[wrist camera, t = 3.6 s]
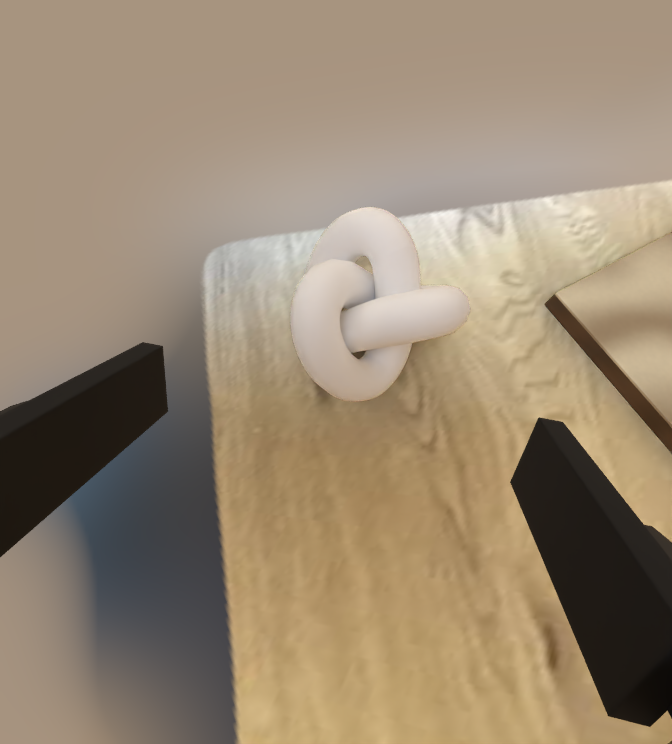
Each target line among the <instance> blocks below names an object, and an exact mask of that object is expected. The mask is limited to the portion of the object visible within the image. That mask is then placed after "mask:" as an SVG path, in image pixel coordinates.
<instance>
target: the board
mask: <svg viewBox="0 0 672 744" xmlns="http://www.w3.org/2000/svg"><path fill="white" fill-rule="evenodd" d="M545 306H546V307H547V308H548V309H549V310H550V311H551V313H552V314H553V315H554V316H555V317H556V318H557V320H558V321H559V322H560V323H561V324H562V325H563V327H564V328H565V329H566V330H567V331H568V332H569V334H570V335H571V336H572V337H573V338H574V339H575V341H576V342H577V343H578V344H579V345H580V346H581V348H582V349H583V350H584V351H585V352H586V353H587V355H588V356H589V357H590V358H591V359H592V360H593V362H594V363H595V364H596V365H597V366H598V367H599V369H600V370H601V371H602V372H603V373H604V374H605V376H606V377H607V378H608V379H609V380H610V381H611V383H612V384H613V385H614V386H615V387H616V388H617V390H618V391H619V392H620V393H621V394H622V395H623V397H624V398H625V399H626V400H627V401H628V402H629V404H630V405H631V406H632V407H633V408H634V409H635V411H636V412H637V413H638V414H639V415H640V416H641V418H642V419H643V420H644V421H645V422H646V423H647V425H648V426H649V427H650V428H651V429H652V430H653V432H654V433H655V434H656V435H657V436H658V437H659V439H660V440H661V441H662V442H663V443H664V444H665V446H666V447H667V448H668V449H669V450H670V451H671V453H672V232H671V233H668V234H667V235H665V236H663V237H661V238H659V239H657V240H655V241H653V242H651V243H649V244H648V245H646V246H644V247H642V248H640V249H638V250H636V251H634V252H632V253H631V254H629V255H627V256H625V257H623V258H621V259H619V260H617V261H615V262H613V263H612V264H610V265H608V266H606V267H604V268H602V269H600V270H598V271H596V272H594V273H593V274H591V275H589V276H587V277H585V278H583V279H581V280H579V281H577V282H576V283H574V284H572V285H570V286H568V287H566V288H564V289H562V290H560V291H558V292H557V293H555V294H554V295H553V296H552V297H551V298H550V299H549V300H548V301H547V302H546V303H545Z"/></svg>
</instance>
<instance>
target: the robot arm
mask: <svg viewBox="0 0 672 744" xmlns="http://www.w3.org/2000/svg"><path fill="white" fill-rule="evenodd" d="M167 412H168V407H167V394H166V381H165V369H164V356H163V346H160V345H154V344H149V343H144V342H143V343H141V344H139V345H137V346H135V347H133V348H131V349H129V350H127V351H125V352H123V353H121V354H119V355H117V356H115V357H113V358H111V359H110V360H107V361H106V362H103V363H102V364H100V365H98V366H96V367H94V368H92V369H90V370H88V371H86V372H84V373H82V374H80V375H78V376H76V377H74V378H72V379H70V380H68V381H67V382H64V383H63V384H61V385H59V386H57V387H55V388H53V389H51V390H49V391H47V392H45V393H43V394H41V395H39V396H37V397H35V398H33V399H31V400H29V401H26V402H22V403H19V404H16V405H13V406H10V407H8V408H6V409H4V410H2V411H0V557H1V556H2V555H3V554H5V553H6V552H7V551H8V550H9V549H10V548H11V547H13V546H14V545H15V544H16V543H17V542H18V541H19V540H21V539H22V538H23V537H24V536H25V535H26V534H28V533H29V532H30V531H31V530H32V529H33V528H34V527H36V526H37V525H38V524H39V523H40V522H41V521H42V520H44V519H45V518H46V517H47V516H48V515H49V514H51V513H52V512H53V511H54V510H55V509H56V508H57V507H58V506H60V505H61V504H62V503H63V502H64V501H65V500H66V499H68V498H69V497H70V496H71V495H72V494H73V493H75V492H76V491H77V490H78V489H79V488H80V487H81V486H83V485H84V484H85V483H86V482H87V481H88V480H90V479H91V478H92V477H93V476H94V475H95V474H96V473H98V472H99V471H100V470H101V469H102V468H103V467H105V466H106V465H107V464H108V463H109V462H110V461H111V460H113V459H114V458H115V457H116V456H117V455H118V454H119V453H121V452H122V451H123V450H124V449H125V448H126V447H127V446H129V445H130V444H131V443H132V442H133V441H134V440H136V439H137V438H138V437H139V436H140V435H141V434H143V433H144V432H145V431H146V430H147V429H148V428H149V427H151V426H152V425H153V424H154V423H155V422H156V421H157V420H159V419H160V418H161V417H162V416H163V415H164V414H166V413H167ZM510 483H511V485H512V487H513V490H514V492H515V494H516V497H517V499H518V502H519V504H520V506H521V509H522V511H523V514H524V516H525V518H526V521H527V523H528V526H529V528H530V530H531V533H532V535H533V537H534V540H535V542H536V545H537V547H538V549H539V552H540V554H541V557H542V559H543V561H544V564H545V566H546V569H547V571H548V573H549V576H550V578H551V580H552V583H553V585H554V588H555V590H556V592H557V595H558V597H559V600H560V602H561V604H562V607H563V609H564V612H565V614H566V616H567V619H568V621H569V624H570V626H571V628H572V631H573V633H574V635H575V638H576V640H577V643H578V645H579V647H580V650H581V652H582V655H583V657H584V659H585V662H586V664H587V667H588V669H589V671H590V674H591V676H592V678H593V681H594V683H595V686H596V688H597V690H598V693H599V695H600V698H601V700H602V702H603V705H604V707H605V710H606V712H607V714H608V716H610V717H614V718H618V719H622V720H626V721H629V722H633V723H637V724H641V725H645V726H649V727H650V726H651V725H652V724H654V723H655V722H656V721H657V720H658V719H659V718H660V717H661V716H662V715H663V714H664V713H665V712H666V711H667V710H668V712H669V714H670V716H671V718H672V542H670V541H669V540H668V539H667V538H666V537H664V536H663V535H662V534H661V533H660V532H658V531H657V530H656V529H655V528H654V527H652V526H647V525H644V524H643V523H642V522H641V521H640V519H639V518H638V517H637V515H636V514H635V513H634V512H633V510H632V509H631V508H630V507H629V505H628V504H627V503H626V502H625V500H624V499H623V498H622V496H621V495H620V494H619V493H618V491H617V490H616V489H615V488H614V486H613V485H612V484H611V482H610V481H609V480H608V479H607V477H606V476H605V475H604V474H603V472H602V471H601V470H600V469H599V467H598V466H597V465H596V463H595V462H594V461H593V460H592V458H591V457H590V456H589V455H588V453H587V452H586V451H585V449H584V448H583V447H582V446H581V444H580V443H579V442H578V441H577V439H576V438H575V437H574V436H573V434H572V433H571V432H570V430H569V429H568V428H567V427H566V425H565V424H564V423H563V422H560V421H555V420H549V419H544V418H538V420H537V423H536V425H535V427H534V429H533V432H532V434H531V436H530V438H529V441H528V443H527V445H526V448H525V450H524V452H523V454H522V457H521V459H520V461H519V463H518V466H517V468H516V470H515V472H514V475H513V477H512V479H511V482H510ZM668 744H672V741H671V742H669V743H668Z"/></svg>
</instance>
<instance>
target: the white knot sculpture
mask: <svg viewBox="0 0 672 744" xmlns="http://www.w3.org/2000/svg"><path fill="white" fill-rule="evenodd" d="M362 256H367V258H368V259H369V261H370V263H371V265H372V270H373V274H371V273H370V272H368V271H367V270H365V269H364V268H362V267H361V266H359V265H357V264H355V262H356V261H357V260H358V259H359V258H360V257H362ZM420 284H421V274H420V263H419V257H418V253H417V250H416V247H415V244H414V241H413V239H412V237H411V235H410V233H409V232H408V230H407V229H406V227H405V226H404V225H403V223H402V222H401V221H400V220H399V219H398V218H397V217H396V216H394V215H392V214H391V213H389V212H388V211H386V210H383V209H379V208H375V207H366V208H359V209H356V210H353V211H350V212H348V213H346V214H343V215H342V216H340V217H339V218H337V219H336V220H335V221H333V222H332V223H331V225H330V226H329V227H328V228H327V229H326V230H325V231H324V232H323V234H322V235H321V237H320V239H319V240H318V242H317V243H316V245H315V247H314V250H313V252H312V254H311V256H310V258H309V261H308V264H307V267H306V271H305V274H304V277H303V278H302V279H301V280H300V281H299V283H298V285H297V286H296V288H295V291H294V294H293V298H292V303H291V310H290V327H291V333H292V339H293V344H294V346H295V349H296V352H297V355H298V358H299V360H300V362H301V363H302V365H303V367H304V369H305V371H306V372H307V373H308V374H309V376H310V377H311V378H312V379H313V381H314V382H315V383H316V384H318V385H319V386H320V387H322V388H323V389H324V390H325V391H327V392H328V393H329V394H330V395H332V396H334V397H336V398H338V399H341V400H345V401H352V402H354V401H366V400H371V399H373V398H375V397H378V396H379V395H381V394H382V393H383V392H385V391H386V390H387V389H388V388H389V387H390V386H391V385H392V384H393V383H394V381H395V380H396V379H397V377H398V376H399V374H400V373H401V371H402V369H403V367H404V365H405V363H406V361H407V359H408V356H409V353H410V350H411V346H412V343H413V342H418V341H423V340H428V339H433V338H437V337H441V336H445V335H448V334H451V333H453V332H455V331H456V330H457V329H459V328H460V327H461V326H462V325H463V324H464V323H465V322H466V321H467V318H468V315H469V313H470V310H471V309H470V304H469V299H468V297H467V296H466V295H465V294H464V292H463V291H462V290H461V289H460V288H457V287H453V286H449V285H420ZM342 307H343V308H346V309H347V310H344V311H342V310H341V309H342ZM365 350H366V352H365V354H364V355H363V357H362V358H360V359H357V358H355V357H354V356H353V355H352V354H351V353H354V352H360V351H365Z"/></svg>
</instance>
